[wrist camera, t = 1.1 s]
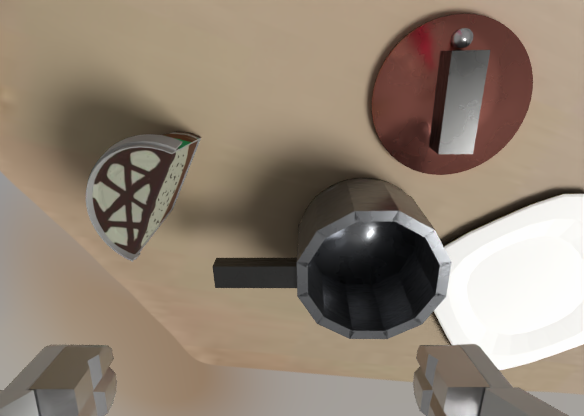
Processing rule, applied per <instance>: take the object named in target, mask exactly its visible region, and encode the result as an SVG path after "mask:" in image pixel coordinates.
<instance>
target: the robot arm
mask: <svg viewBox="0 0 584 416" xmlns="http://www.w3.org/2000/svg"><path fill="white" fill-rule="evenodd" d="M113 359H114V358H113V353H112V348H111V347H109V346H106V345H49V346H46V347H44V349H42V351H41V352H40V353H39V354H38V355H37V356H36V357H35V358H34V359H33V360H32V361H31V362H30V363H29V364H28V365H27V366H26V367H25V368H24V369H23V370H22V372H21V373H20V374H19V375H18V376H17V377H16V378H15V379H14V380H13V381H12V382H11V383H10V384H9V385H8V386H7V387H6V388H5V389H4V390H0V416H104V415H106V414H107V413H108V412H109V410H110V408H111V406H112V404H113V401H114V397H115V394H116V384H117V380H116V374H115V372H114V371H113V370H112V369H111V368H110V367H109V366H110V364H111V363H112V361H113ZM416 359H417V361H418V363H419V365H420V367H419V368H418V369H417V370H416V371H415V372H414V381H413V385H414V395H415V398H416V402H417V405H418V407H419V409H420V411H421V412H422V413H423V414H425V415H426V416H568V415H567V414H565V413H563V412H561V411H559V410H558V409H556V408H554V407H552V406H551V405H548V404H547V403H545V402H543V401H542V400H540V399H538V398H536V397H534V396H533V395H531V394H529V393H527V392H526V391H524V390H522V389H520V388H513V387H512V386H511V385H510V383H509V382H508V381H507V380H506V378H505V377H504V376H503V375H502V373H501V372H500V371H499V370H498V368H497V367H496V366H495V365H494V364H493V362H492V361H491V360H490V359H489V357H488V356H487V355H486V354H485V352H484V351H483V350H482V349H481V347H480V346H478V345H476V344H457V345H420V346H419V348H418V350H417V357H416Z"/></svg>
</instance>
